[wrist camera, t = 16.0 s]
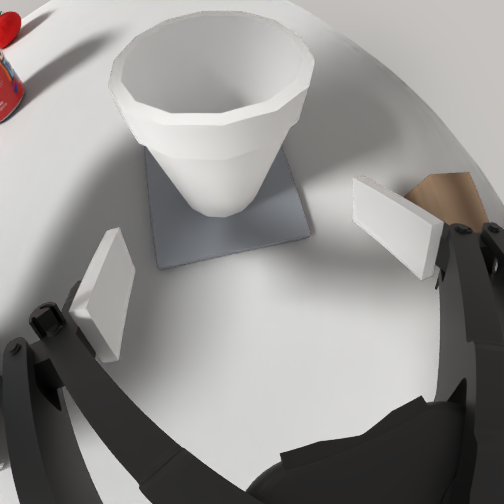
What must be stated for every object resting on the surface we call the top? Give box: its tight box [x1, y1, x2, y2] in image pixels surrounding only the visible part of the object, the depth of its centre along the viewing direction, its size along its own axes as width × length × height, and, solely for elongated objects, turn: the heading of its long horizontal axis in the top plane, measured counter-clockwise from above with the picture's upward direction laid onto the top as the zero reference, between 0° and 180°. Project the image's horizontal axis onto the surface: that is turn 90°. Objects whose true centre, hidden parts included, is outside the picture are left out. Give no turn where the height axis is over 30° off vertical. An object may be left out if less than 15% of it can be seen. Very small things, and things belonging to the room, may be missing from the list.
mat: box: [144, 146, 311, 270], centre depth 23 cm, size 12×12×1 cm
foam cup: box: [108, 11, 315, 217], centre depth 17 cm, size 10×9×13 cm
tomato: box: [0, 12, 21, 49], centre depth 27 cm, size 10×10×10 cm
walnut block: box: [404, 172, 489, 233], centre depth 22 cm, size 6×6×5 cm
